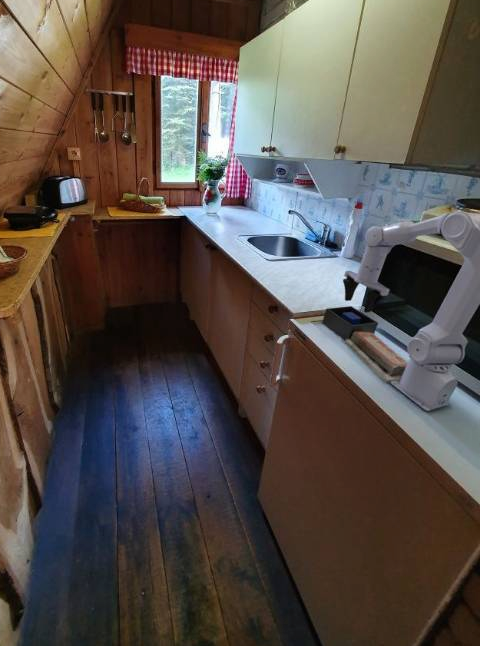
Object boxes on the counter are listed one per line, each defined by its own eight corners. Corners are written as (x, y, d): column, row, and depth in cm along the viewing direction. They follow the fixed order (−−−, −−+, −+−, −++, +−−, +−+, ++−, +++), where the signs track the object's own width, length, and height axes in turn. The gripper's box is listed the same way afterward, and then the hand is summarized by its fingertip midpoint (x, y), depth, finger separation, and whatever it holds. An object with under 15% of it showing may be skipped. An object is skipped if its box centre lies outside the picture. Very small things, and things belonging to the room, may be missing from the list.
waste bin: (372, 337, 98) (378, 322, 96) (347, 341, 94) (352, 326, 92) (346, 319, 108) (351, 305, 106) (322, 322, 104) (326, 308, 102)
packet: (356, 331, 100) (361, 318, 98) (347, 332, 98) (352, 319, 96) (347, 324, 103) (351, 311, 101) (338, 326, 102) (342, 312, 100)
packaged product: (347, 329, 93) (376, 329, 94) (342, 342, 94) (370, 342, 96) (391, 369, 76) (425, 369, 78) (384, 384, 78) (417, 384, 80)
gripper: (342, 258, 97) (330, 296, 102) (382, 276, 85) (367, 318, 90) (358, 257, 100) (346, 295, 105) (400, 275, 87) (384, 316, 92)
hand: (357, 305), depth 98 cm, fingers open, 7 cm apart
